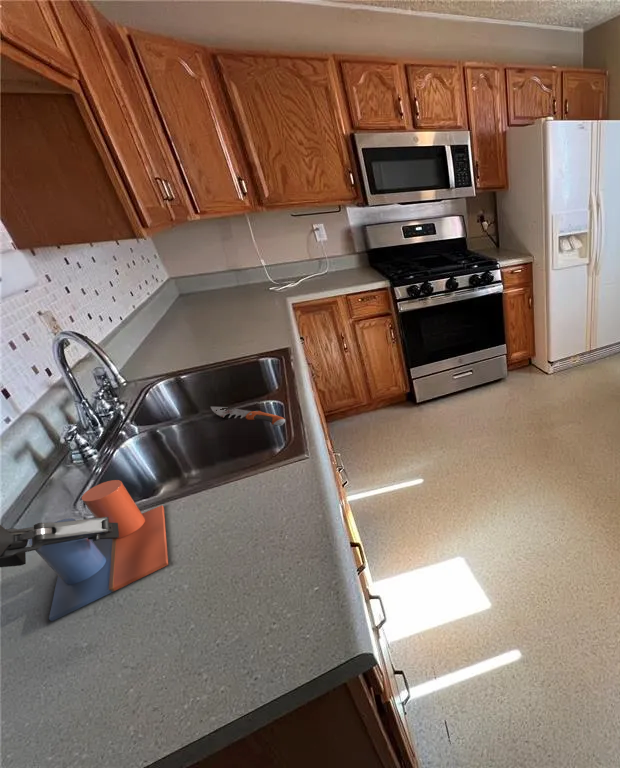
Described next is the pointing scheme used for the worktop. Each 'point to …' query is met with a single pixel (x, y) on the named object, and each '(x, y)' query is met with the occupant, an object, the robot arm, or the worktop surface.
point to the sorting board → (117, 565)
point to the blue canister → (73, 558)
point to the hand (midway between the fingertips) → (70, 543)
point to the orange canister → (114, 506)
